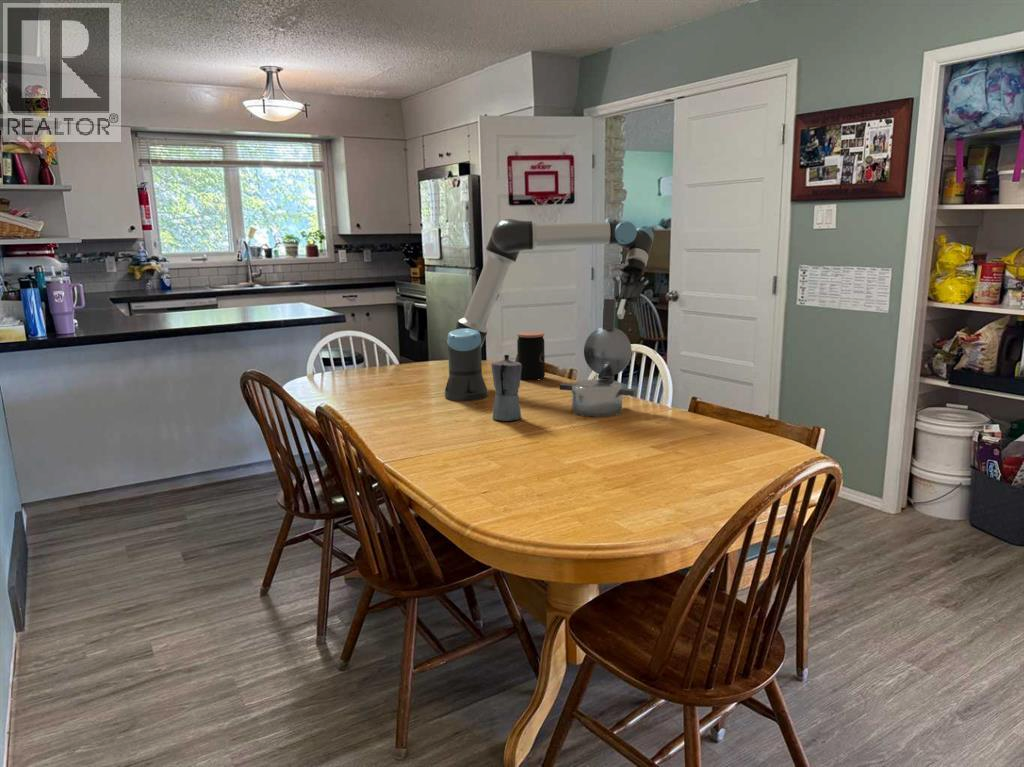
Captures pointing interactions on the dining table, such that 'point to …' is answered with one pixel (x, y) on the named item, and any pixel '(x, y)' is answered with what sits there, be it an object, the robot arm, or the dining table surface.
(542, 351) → the coffee jar
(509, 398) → the moka pot
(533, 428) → the dining table surface
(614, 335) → the lid
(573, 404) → the pot
